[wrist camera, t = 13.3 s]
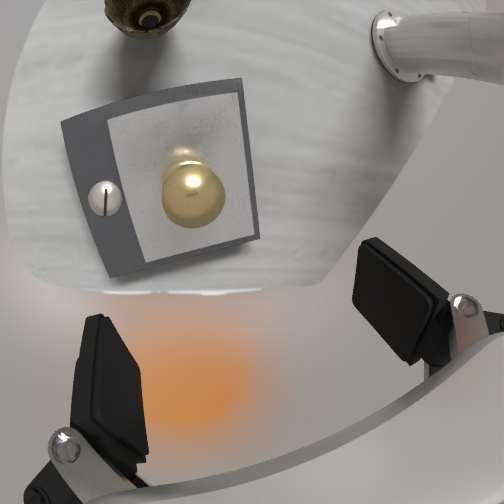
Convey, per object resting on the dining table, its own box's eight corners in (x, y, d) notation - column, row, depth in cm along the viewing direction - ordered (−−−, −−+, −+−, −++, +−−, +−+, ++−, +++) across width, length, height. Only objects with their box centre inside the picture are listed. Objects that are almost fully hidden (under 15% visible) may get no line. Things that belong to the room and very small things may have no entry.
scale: (231, 81, 26) (243, 77, 23) (249, 225, 36) (261, 240, 32) (72, 119, 23) (58, 121, 19) (113, 260, 32) (109, 280, 28)
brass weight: (207, 150, 24) (220, 161, 20) (214, 197, 27) (229, 220, 22) (156, 161, 23) (155, 176, 19) (167, 209, 26) (170, 235, 21)
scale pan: (234, 92, 23) (237, 92, 23) (251, 230, 31) (254, 234, 30) (109, 119, 21) (107, 119, 20) (145, 257, 29) (145, 262, 28)
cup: (167, 58, 23) (170, 40, 16) (105, 44, 20) (89, 24, 13) (195, 4, 20) (208, -25, 14) (134, -10, 17) (130, -42, 10)
